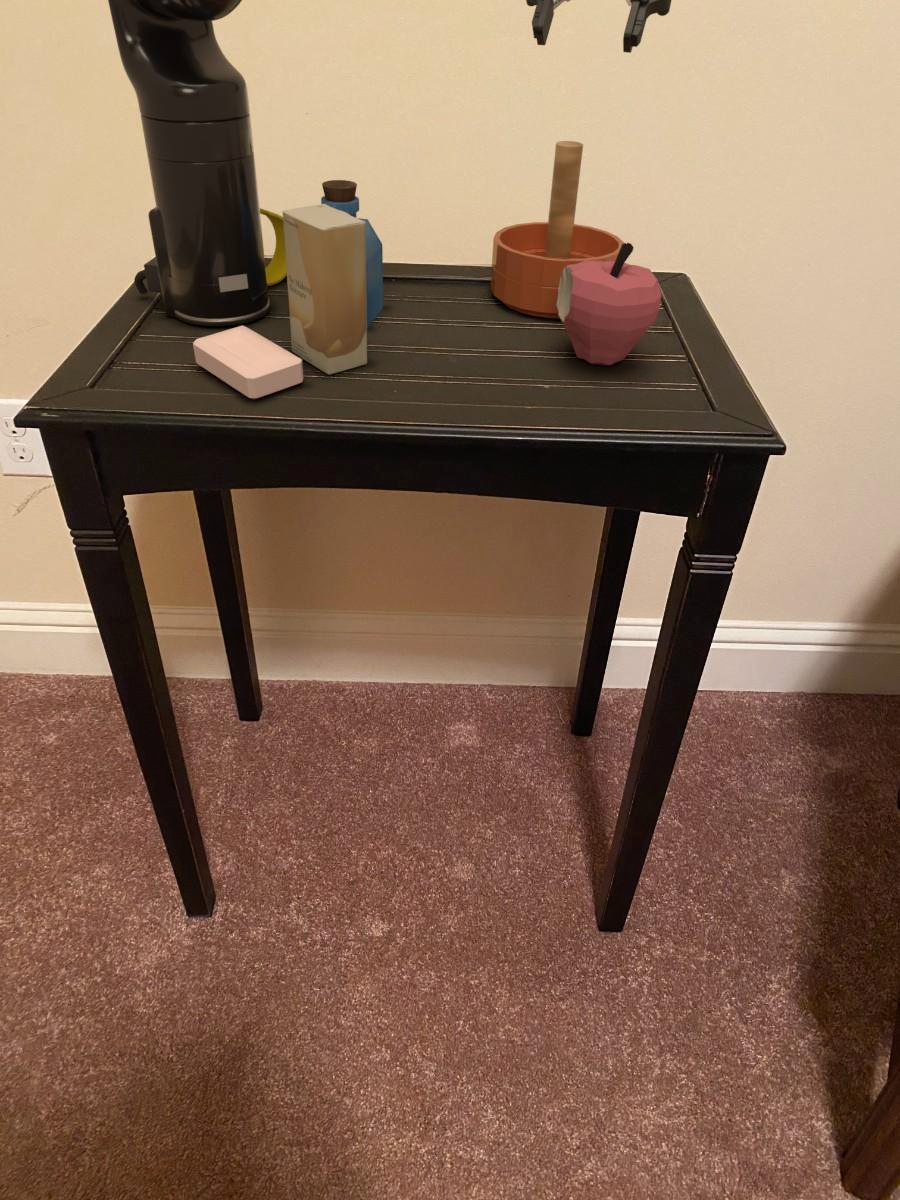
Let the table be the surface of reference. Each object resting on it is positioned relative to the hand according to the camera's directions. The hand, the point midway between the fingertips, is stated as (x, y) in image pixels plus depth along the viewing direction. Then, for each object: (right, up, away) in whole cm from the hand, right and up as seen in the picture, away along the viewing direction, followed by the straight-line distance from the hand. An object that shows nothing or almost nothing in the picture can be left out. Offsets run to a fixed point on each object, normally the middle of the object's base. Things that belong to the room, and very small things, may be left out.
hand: (583, 42), depth 82 cm
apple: (+1, -32, -4) cm, 32 cm away
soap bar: (-30, -34, -9) cm, 46 cm away
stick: (-2, -21, +8) cm, 23 cm away
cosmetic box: (-24, -32, -6) cm, 40 cm away
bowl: (-2, -22, +9) cm, 23 cm away
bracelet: (-35, -16, +9) cm, 39 cm away
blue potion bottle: (-23, -25, +3) cm, 35 cm away
